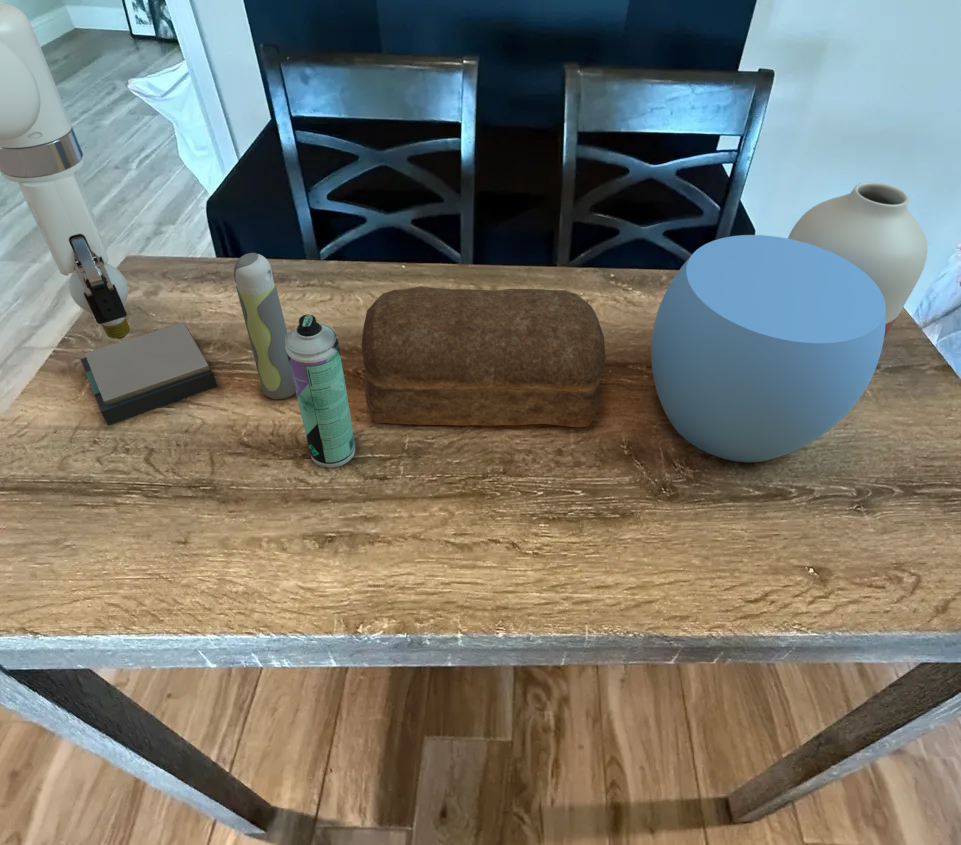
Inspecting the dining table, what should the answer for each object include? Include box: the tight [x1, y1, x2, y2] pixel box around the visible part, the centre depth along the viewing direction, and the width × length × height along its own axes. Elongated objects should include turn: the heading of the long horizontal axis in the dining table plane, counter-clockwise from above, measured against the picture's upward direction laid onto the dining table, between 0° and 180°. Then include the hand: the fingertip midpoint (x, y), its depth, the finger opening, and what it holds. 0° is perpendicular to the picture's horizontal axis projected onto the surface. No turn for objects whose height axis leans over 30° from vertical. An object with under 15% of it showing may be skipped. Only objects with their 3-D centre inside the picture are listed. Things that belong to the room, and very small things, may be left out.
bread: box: [361, 286, 606, 428], centre depth 87 cm, size 17×30×13 cm, turn 90°
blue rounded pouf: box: [650, 234, 886, 463], centre depth 82 cm, size 25×25×20 cm
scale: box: [80, 322, 219, 427], centre depth 90 cm, size 14×12×4 cm
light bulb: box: [68, 263, 131, 340], centre depth 79 cm, size 6×6×10 cm
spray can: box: [285, 314, 356, 469], centre depth 76 cm, size 6×6×20 cm
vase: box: [787, 181, 928, 340], centre depth 92 cm, size 17×17×24 cm
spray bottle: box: [233, 252, 296, 400], centre depth 84 cm, size 5×5×20 cm
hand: (105, 303), depth 79 cm, fingers closed on light bulb, 5 cm apart
